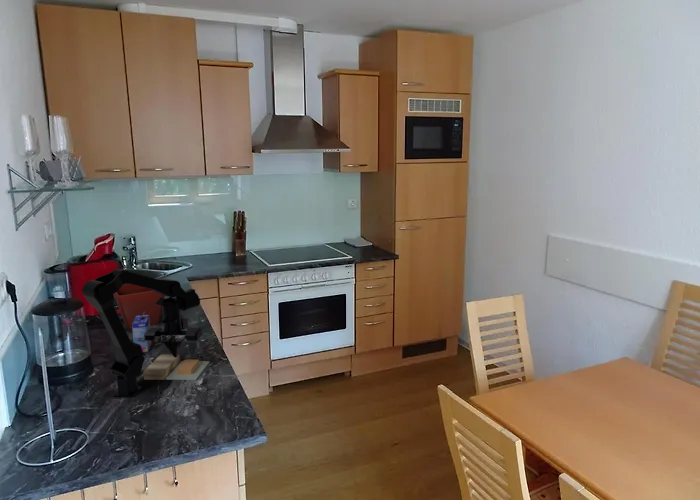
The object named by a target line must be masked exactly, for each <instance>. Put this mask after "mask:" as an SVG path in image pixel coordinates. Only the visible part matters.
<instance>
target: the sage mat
mask: <svg viewBox="0 0 700 500" xmlns="http://www.w3.org/2000/svg"><path fill="white" fill-rule="evenodd" d="M183 361H184V360H180V363H179V364H178V365H177V366H176V367H175V369H174V370H173V371H172V372H171V373H170V374H169V375H168V376H167V377H166V378H165V380H169V381H171V380H172V381H174V380H175V381H177V380H178V381H181V380H182V381H187V380H188V381H196V380H197V379H198V378H199V377H200V375H202V373H203V372H204V371H205V369H206V368H207V367H208V365H209V364H210V361H208V360H207V361H206V360H199V366H198V367H197V368H196V370H195V371H194V372H193V373H192V375H177V368H178V367H179V366H180V365H181V364H182V363H183Z"/></svg>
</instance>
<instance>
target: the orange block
mask: <svg viewBox="0 0 700 500" xmlns="http://www.w3.org/2000/svg"><path fill="white" fill-rule="evenodd" d="M182 361H183V363H182V364H181V365H180V366H179V367H178V368H177V375H192V373H193V372H194V371H195V370H196V368H197V367H198V366H199V361H200V359H184V360H182Z"/></svg>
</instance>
